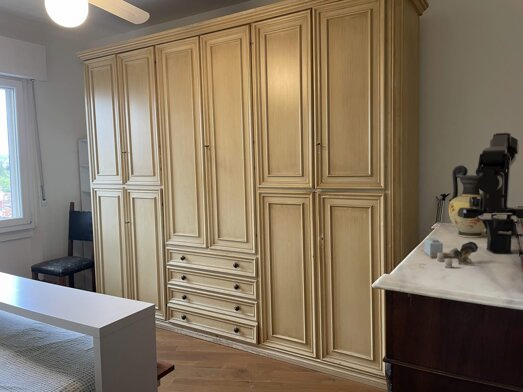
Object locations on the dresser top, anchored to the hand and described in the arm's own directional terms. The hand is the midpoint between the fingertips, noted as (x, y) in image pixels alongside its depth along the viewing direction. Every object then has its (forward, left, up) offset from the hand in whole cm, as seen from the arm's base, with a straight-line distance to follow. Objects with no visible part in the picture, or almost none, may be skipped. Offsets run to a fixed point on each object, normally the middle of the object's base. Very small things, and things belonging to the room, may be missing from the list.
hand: (491, 240), depth 127 cm
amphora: (-11, -48, -8) cm, 50 cm away
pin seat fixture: (+11, -5, -8) cm, 14 cm away
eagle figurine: (+7, -3, -8) cm, 11 cm away
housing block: (+14, -12, -8) cm, 20 cm away
